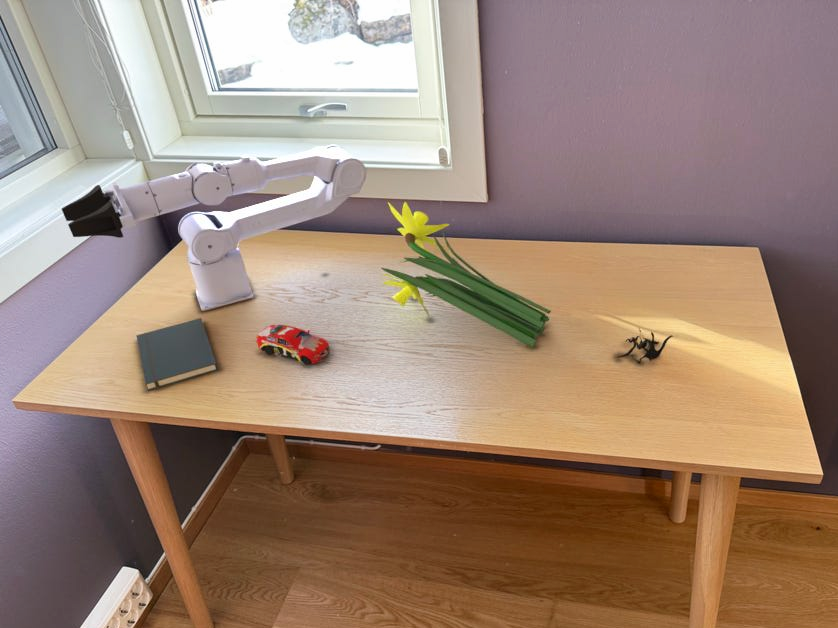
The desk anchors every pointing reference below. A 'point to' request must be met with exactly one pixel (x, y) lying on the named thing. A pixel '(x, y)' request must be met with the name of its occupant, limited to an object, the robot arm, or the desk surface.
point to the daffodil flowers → (484, 294)
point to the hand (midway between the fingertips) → (67, 222)
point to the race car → (293, 344)
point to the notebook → (175, 354)
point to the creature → (651, 352)
